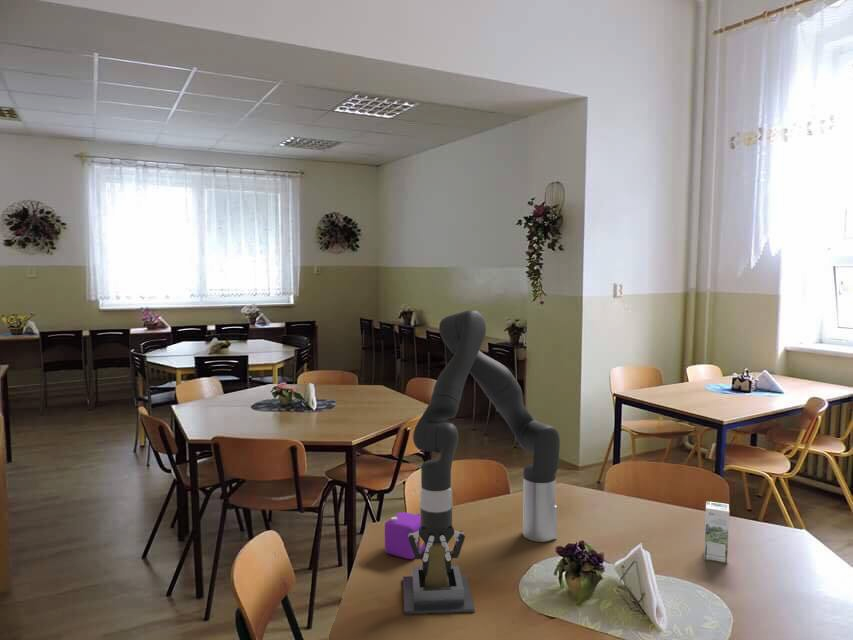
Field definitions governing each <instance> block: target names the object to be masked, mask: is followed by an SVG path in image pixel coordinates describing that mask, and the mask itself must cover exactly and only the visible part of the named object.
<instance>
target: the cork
mask: <svg viewBox="0 0 853 640" xmlns="http://www.w3.org/2000/svg"><path fill="white" fill-rule="evenodd" d="M445 548H446V547H444V546H442V544H441V543H433V544H432V546H431V547H430V548H428V549H429V553H428V555H429V557H428V562H429V564H428V572H427V576H426V575H425V583H424V587H449V579H448V575H447V570H446V564H445V561H446V557H445V554H446V550H445Z"/></svg>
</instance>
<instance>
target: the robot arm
mask: <svg viewBox="0 0 853 640" xmlns="http://www.w3.org/2000/svg"><path fill="white" fill-rule="evenodd" d="M438 332H439V334H440V337H441V340H442V342H443V343H444V344H445V346H446V347H447V348H448V350H449V351H450V352H451V353H452V354H453V356H452V357H451V359H450V361H449V362H448V363H447V364H446V365H445V367H444V368H443V370H442V371H441V372H440V374H439V376H438V377H437V379H436V381H435V384H434V386H433V390H432V393H431V397H430V400H429V404H428V405H427V407H426V408H425V411H424V412H423V414H422V415H421V416H420V418H419V420H418V421H417V423H416V424H415V427H414V430H413V434H412V442H413V444H414V446H415V448H417V450H418V451H423V452H431V453H440V457H439V458H435V459H432V458H431V459H429V460H426V461H424V462H422V465H421V469H420V470H421V471H420V472H421V473H420V474H421V475H420V476H421V477H420V478H421V479H420V481H421V485H420V487H421V488H420V498H419V500H420V502H419V505H420V515H421V526H420V528H419V531H417V532H414V533H412V532H409V534H408V538H409V542H410V545H411V547H412V550H413V553H414V556H415V560H418V561H419V560H421V561H422V567H423V573H424V574H426V576H427V572H428V564H429V562H428V557H429V555H428V553H429V549H428V548H430V547H431V546H432V544H433V543H441V544H442V546H444V547H446V548H445V550H446V554H445V557H446V561H445V564H446V570H447V575H448V573H450V572H451V566H452V560H453V559H458V558H459V556H460V554H461V551H462V547H463V544H464V541H465V538H466V535H465V533H464V532H465V531H464V530H459V531H458V530H455V529H454V526H453V503H454V502H453V492H452V466H453V460H454V456H455V453H456V449H457V445H458V442H459V439H460V438H459V436H460V435H459V431H458V429H457V427H456V425H454V423H451V422H446V421H445V422H444V421H443V420H448V419H449V420H450V419H453V418H454V417H455V416H456V415H457V413H458V412H459V408H460V403H461V399H462V395H463V391H464V387H465V384H466V381H467V379H468V376H469V374H470V375H471V376H472V377H473V379H474V380H475V381H476V383H477V385H479V387H480V388H481V390H482V392H483V393H484V394H485V396H486V397H487V398H488V400H489V401H490V403H491V404H492V405H493V406H494V408H495V409H496V411H497V412H498V413H499V414H500V416H501V417H502V418H503V419H504V420H505V422H506V424H507V425H508V427H509V429H510V430H511V432H512V434H513V436H514V437H515V439H516V441H517V442H518V444H519V446H520V447H521V448H522V449H523V450H524V451H525V452H528V453H530V454H532V455H533V458H532V463H531V464H530V463H529V464H528V465H526V466H524V468H523V472H522V473H523V477H522V478H523V479H522V481H523V482H522V484H523V485H522V486H523V487H522V488H523V489H522V492H523V493H522V495H523V496H522V503H523V504H522V536H523V537H524V538H525V539H526V540H529V541H533V542H537V543H539V542H540V543H545V542H550V541H554V540H557V539H558V506H557V504H556V487H557V486H556V483H557V482H556V481H557V480H556V477H557V476H556V475H557V471H558V469H559V464H560V448H561V439H560V434H559V431H558V429H556V427H554V426H552V425H548V424H546V423H542V422H540V421H537V420H536V419H535V418H534V417H533V415H531V413H530V412H529V411H528V410H527V408H526V406H525V404H524V397H523V389H522V387H521V386H520V384H519V382H518V381H517V379H516V378H515V376H514V375H513V374H512V372H511V371H510V369H509V368H508V367H507V366H505V365H504V364H502V363H501V362H499V361H498V360H495V359H494V358H492V357H491V356H488V355H486V354H485V353H483V352H482V351H480V349H481V348H482V347H481V346H482V345H483V343H484V340H485V337H486V334H487V333H486V332H487V323H486V321H485V319H484V317H483V315H482V314H481V313H480V312H479V311H477V310H473V309H471V310H464V311H461V312H458V313H457V312H456V313H454V314H450V315H448V316H445V317H443V318H442V320H440V322H439V331H438ZM442 421H443V422H442ZM419 536H420V537H421V538H422V540H423V541H424V542H425V545H424V550H423V551H422V552H420V551H419V548H418V546H417V543H416V542H418V537H419ZM453 536H454V540H455V543H454V546H453V549H452V550H451V551H450V549H449V545H448V543H449V542H450V541H451V539H452V538H453Z"/></svg>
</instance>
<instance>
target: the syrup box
mask: <svg viewBox="0 0 853 640" xmlns="http://www.w3.org/2000/svg"><path fill="white" fill-rule="evenodd" d="M704 518H705V519H704V522H705V523H704V546H703V547H704V548H703V559H704V560H705V561H711V562H717V563H723V564H728V556H729V555H728V554H729V534H730V533H729V530H730V504H729V503H723V502H722V503H721V502H716V501H708V500H707V501H705V516H704Z"/></svg>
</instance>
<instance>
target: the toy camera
mask: <svg viewBox="0 0 853 640" xmlns="http://www.w3.org/2000/svg"><path fill="white" fill-rule="evenodd" d="M420 526H421V513H417V514H414V513H409V512H404V511H403V512H399V513H397V514H396V515H394V516H391V517H390V519H388V520H386V522H385V524H384V550H385V552H386V553H387V554H389V555H392V556H395V557H399V558H404V559H408V560H413V559H414V558H415V556H414V553H413V550H412V547H411V545H410V542H409V538H408V534H409V532H412V533H414V532H417V531H419V528H420ZM416 543H417V546H418V548H419V551H420V552H423V550H424V545H425V542H424V541H423V540H422V538H421V537H420V536H419V537H418V542H416ZM415 559H416V558H415Z"/></svg>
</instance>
